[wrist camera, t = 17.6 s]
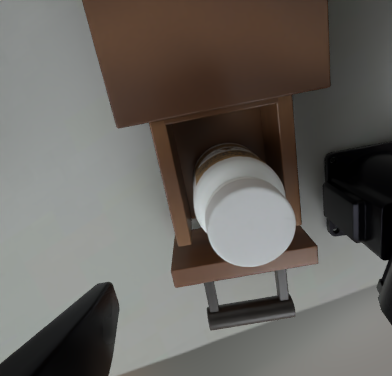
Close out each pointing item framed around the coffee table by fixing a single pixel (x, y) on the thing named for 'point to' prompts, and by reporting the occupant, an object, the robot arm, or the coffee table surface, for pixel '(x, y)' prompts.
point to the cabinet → (206, 53)
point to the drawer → (184, 206)
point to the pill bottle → (241, 206)
